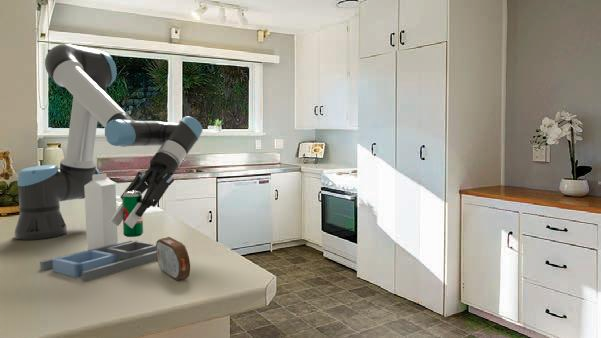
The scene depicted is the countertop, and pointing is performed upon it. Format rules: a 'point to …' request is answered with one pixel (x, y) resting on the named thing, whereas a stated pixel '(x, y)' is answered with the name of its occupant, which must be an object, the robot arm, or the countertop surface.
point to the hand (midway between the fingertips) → (121, 223)
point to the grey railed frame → (103, 260)
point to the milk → (100, 212)
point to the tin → (173, 258)
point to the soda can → (129, 204)
